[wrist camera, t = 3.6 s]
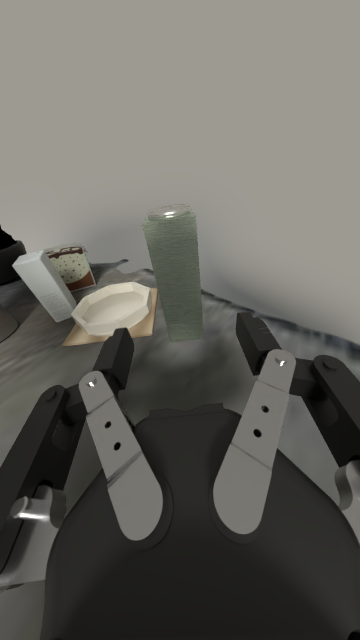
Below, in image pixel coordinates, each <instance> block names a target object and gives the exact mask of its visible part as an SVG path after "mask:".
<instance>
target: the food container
mask: <svg viewBox="0 0 360 640" xmlns="http://www.w3.org/2000/svg"><path fill="white" fill-rule="evenodd" d="M44 251H45V253H46V254H47V256H48V257H49V259H50V261H51V262H52V264H53V266H54V267H55V269H56V270H57V272H58V274H59V275H60V277H61V278H62V280H63V282H64V283H65V285H66V286H67V288H68V290H69V291H70V292H74V291H77V290H81V289H85V288H88V287H92V286H95V285H96V283H95V280H94V277H93V274H92V272H91V269H90V266H89V263H88V260H87V258H86V255H85V252H86V253H87V251H86V249H85V248H84V247H83V246H82V245H81V244H80V243H71V244H65V245H59V246H55V247H52V248H48V249H45V250H44Z"/></svg>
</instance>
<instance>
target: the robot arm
mask: <svg viewBox="0 0 360 640" xmlns="http://www.w3.org/2000/svg"><path fill="white" fill-rule="evenodd" d="M17 327H18V322H17V321H16V320H15V319H14V318H13V317H12V316H11V315H10V314H9V313H8V312H7V311H6V310H5V309H4V307H3V306H2V305H1V304H0V342H1V341H2V340H4V339H5V338H7V337H8V336H9V335H11V334H12V333H13V332H14V331H15V330H16V328H17ZM236 334H237V338H238V340H239V343H240V345H241V347H242V350H243V352H244V354H245V357H246V359H247V362H248V364H249V366H250V369H251V371H252V373H253V376H255V375H259V377H258V380H256V382H255V385H254V387H253V390H252V392H251V395H250V397H249V400H248V402H247V405H246V407H245V410H244V412H243V415H242V416H241V415H240V414H238V413H236V412H234V411H232V410H229V409H224V408H223V404H222V403H218V404H208V405H203V406H200V407H198V408H195V409H192V410H190V411H187V412H183V411H177V410H171V409H160V410H151V411H150V414H149V417H147V418H145V419H143V420H141V421H140V422H139V423H138V424H136V425H135V424H134V422H133V421H132V419H131V418H130V416H129V414H128V412H127V411H126V409H125V407H124V405H123V403H122V402H121V400H120V398H119V396H118V392H119V390H125V387H126V383H127V379H128V374H129V370H130V365H131V361H132V357H133V352H134V343H133V340H132V338H131V335H130V333H129V331H128V329H127V328H126V327H125V328H117V329H115V331H114V333H113V336H109V338H108V339H107V340H106V341H105V342H104V344H103V347H102V349H101V351H100V354H99V356H98V359H97V361H96V363H95V366H94V368H93V370H92V372H90V373H88V374H87V375H85V376H84V377H83V378H82V379H81V381H80V383H79V384H77V385H74V386H71V387H69V388H66V389H65V388H64V387H63V386H61V385H56V386H53V387H51V388H49V389H47V390H46V391H45V392H44V393H43V394H42V395H41V396H40V398H39V400H38V401H37V403H36V405H35V407H34V408H33V410H32V412H31V414H30V416H29V417H28V419H27V421H26V423H25V425H24V426H23V428H22V430H21V432H20V433H19V435H18V437H17V439H16V441H15V442H14V444H13V446H12V448H11V450H10V451H9V453H8V455H7V457H6V459H5V460H4V462H3V464H2V466H1V467H0V593H1V592H3V591H5V590H8V589H12V588H16V587H19V586H21V585H23V584H24V583H26V582H32V581H39V580H45V604H44V616H43V624H42V630H41V636H40V640H360V382H359V381H358V379H357V378H356V377H355V376H354V375H353V374H352V372H351V371H350V370H349V369H348V368H347V367H346V366H345V364H344V363H343V362H341V361H340V360H338V359H336V358H334V357H332V356H328V355H319V356H317V357H315V358H314V360H313V361H312V360H305V359H298V358H294V356H293V355H292V354H290V353H289V352H287V351H285V350H282V349H281V347H280V346H279V344H278V343H277V341H276V339H275V338H274V336H273V335H272V333H270V330H269V329H268V328H267V326H266V324H265V323H264V321H262V320H261V319H259V318H258V317H257V318H253V317H252V315H251V313H250V312H249V311H247V312H239V313H237V321H236ZM290 394H292V395H297V396H301V397H302V399H303V401H304V402H305V404H306V406H307V408H308V410H309V412H310V414H311V416H312V417H313V419H314V421H315V423H316V425H317V427H318V429H319V431H320V432H321V434H322V436H323V438H324V440H325V442H326V444H327V445H328V447H329V449H330V451H331V453H332V455H333V457H334V459H335V460H336V462H337V464H338V466H339V469H337V471H336V472H335V484H336V487H337V489H338V492H339V496H340V504H339V507H338V506H337V505H336V504H335V502H334V501H333V500H332V499H331V498H330V497H329V496H328V495H327V494H326V493H325V492H324V491H323V490H322V489H320V488H319V487H318V486H317V485H316V484H315V483H314V482H313V481H312V480H311V479H310V478H309V477H308V476H307V475H305V474H304V473H303V472H302V471H301V470H300V469H299V468H298V467H297V466H296V465H295V464H294V463H293V462H292V461H290V460H289V459H288V458H287V457H286V456H285V455H284V454H283V453H282V452H281V451H280V450H279V449H278V448H277V446H278V442H279V437H280V433H281V429H282V425H283V421H284V417H285V412H286V408H287V404H288V400H289V395H290ZM85 419H86V420H87V423H88V426H89V429H90V432H91V434H92V437H93V440H94V443H95V446H96V449H97V452H98V455H99V458H100V461H101V463H102V466H103V468H102V469H101V471H100V472H99V473H98V475H97V476H96V477H95V479H94V480H93V481H92V483H91V484H90V485H89V487H88V488H87V489H86V491H85V492H84V493H83V495H82V496H81V497H80V499H79V500H78V501H77V503H76V504H75V505H74V507H73V508H72V509H71V511H70V512H69V513H68V515H67V516H66V518H64V516H65V514H66V509H67V508H66V495H65V493H64V492H63V489H64V486H65V483H66V480H67V476H68V473H69V470H70V467H71V464H72V460H73V457H74V454H75V451H76V448H77V444H78V441H79V438H80V435H81V432H82V428H83V425H84V422H85ZM58 422H59V423H58ZM57 424H58V425H57ZM56 426H57V428H56ZM55 429H56V430H55ZM54 431H55V433H54ZM53 434H54V435H53ZM52 436H53V437H52Z"/></svg>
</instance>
